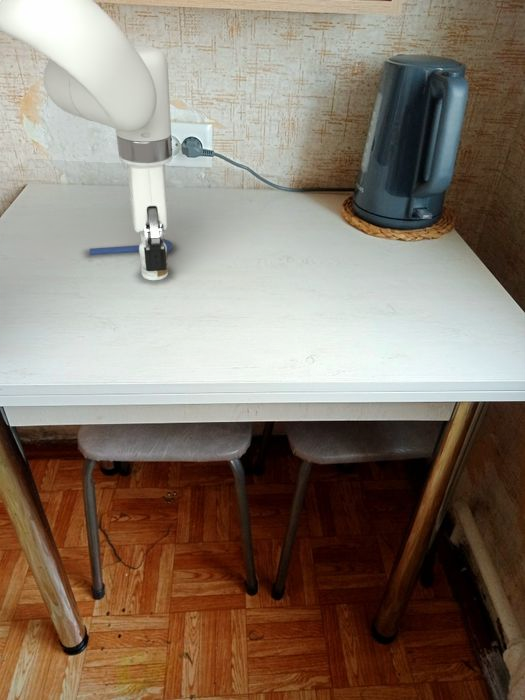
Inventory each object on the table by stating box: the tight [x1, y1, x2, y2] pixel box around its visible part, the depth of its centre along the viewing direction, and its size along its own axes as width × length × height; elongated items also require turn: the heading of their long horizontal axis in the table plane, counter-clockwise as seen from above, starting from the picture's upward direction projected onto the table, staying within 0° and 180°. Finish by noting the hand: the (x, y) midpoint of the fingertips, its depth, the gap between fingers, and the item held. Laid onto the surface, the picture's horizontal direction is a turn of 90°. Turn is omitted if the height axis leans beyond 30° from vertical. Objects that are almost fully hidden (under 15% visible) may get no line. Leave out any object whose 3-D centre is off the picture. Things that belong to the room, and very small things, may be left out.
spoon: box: [89, 238, 172, 256], centre depth 91 cm, size 14×4×1 cm, turn 105°
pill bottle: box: [138, 228, 169, 281], centre depth 83 cm, size 4×4×8 cm
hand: (154, 257), depth 83 cm, fingers open, 6 cm apart
